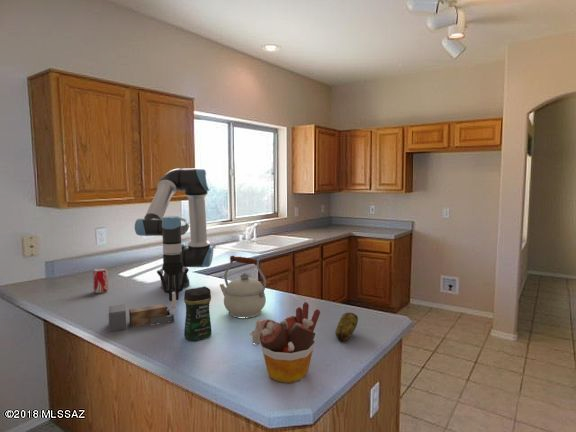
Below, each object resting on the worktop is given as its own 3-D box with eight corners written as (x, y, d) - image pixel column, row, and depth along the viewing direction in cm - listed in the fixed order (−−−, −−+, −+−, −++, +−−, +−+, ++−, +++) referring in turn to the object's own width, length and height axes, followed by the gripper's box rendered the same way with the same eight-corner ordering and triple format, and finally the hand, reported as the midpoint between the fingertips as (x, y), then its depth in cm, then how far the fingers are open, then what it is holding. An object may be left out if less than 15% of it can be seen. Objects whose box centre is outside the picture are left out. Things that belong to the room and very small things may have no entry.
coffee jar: (190, 343, 134) (188, 292, 132) (181, 336, 140) (180, 287, 138) (215, 337, 140) (214, 288, 138) (205, 330, 146) (204, 283, 144)
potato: (326, 338, 139) (326, 317, 138) (347, 328, 148) (347, 308, 147) (344, 345, 133) (344, 323, 132) (365, 334, 142) (365, 314, 141)
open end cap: (170, 314, 163) (170, 309, 163) (173, 321, 155) (173, 315, 155) (148, 317, 159) (148, 312, 159) (150, 325, 151) (150, 319, 151)
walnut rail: (164, 317, 160) (164, 303, 160) (167, 320, 156) (167, 306, 156) (129, 323, 153) (129, 309, 152) (131, 327, 149) (131, 312, 149)
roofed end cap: (125, 321, 155) (124, 304, 154) (126, 328, 147) (125, 310, 147) (109, 323, 153) (108, 306, 152) (109, 331, 145) (108, 313, 144)
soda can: (102, 294, 192) (101, 271, 191) (90, 293, 194) (89, 270, 193) (111, 290, 199) (110, 268, 198) (99, 289, 201) (98, 267, 199)
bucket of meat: (285, 398, 100) (285, 325, 98) (245, 376, 112) (244, 311, 110) (330, 370, 115) (331, 307, 113) (291, 353, 126) (291, 295, 124)
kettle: (277, 311, 167) (276, 256, 165) (252, 324, 152) (252, 264, 149) (232, 302, 180) (232, 250, 178) (206, 313, 164) (205, 257, 162)
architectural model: (249, 344, 135) (249, 324, 134) (261, 337, 140) (261, 318, 139) (256, 346, 133) (256, 326, 132) (268, 339, 138) (268, 320, 137)
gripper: (186, 250, 163) (187, 303, 165) (154, 252, 157) (156, 307, 159) (189, 253, 156) (191, 308, 158) (157, 256, 150) (158, 313, 153)
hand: (173, 308), depth 159 cm, fingers closed
